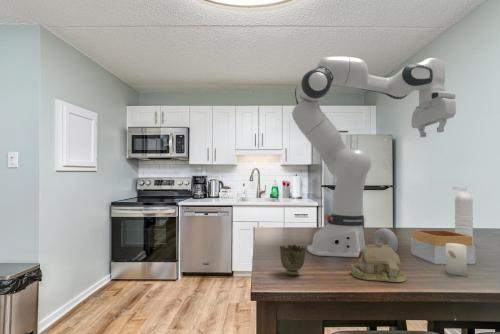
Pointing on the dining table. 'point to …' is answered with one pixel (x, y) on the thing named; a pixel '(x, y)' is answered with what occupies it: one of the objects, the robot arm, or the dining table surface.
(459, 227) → the water bottle
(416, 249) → the white orange open box
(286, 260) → the cup
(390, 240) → the donut
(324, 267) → the dining table surface
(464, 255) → the spout can
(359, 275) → the ceramic model
